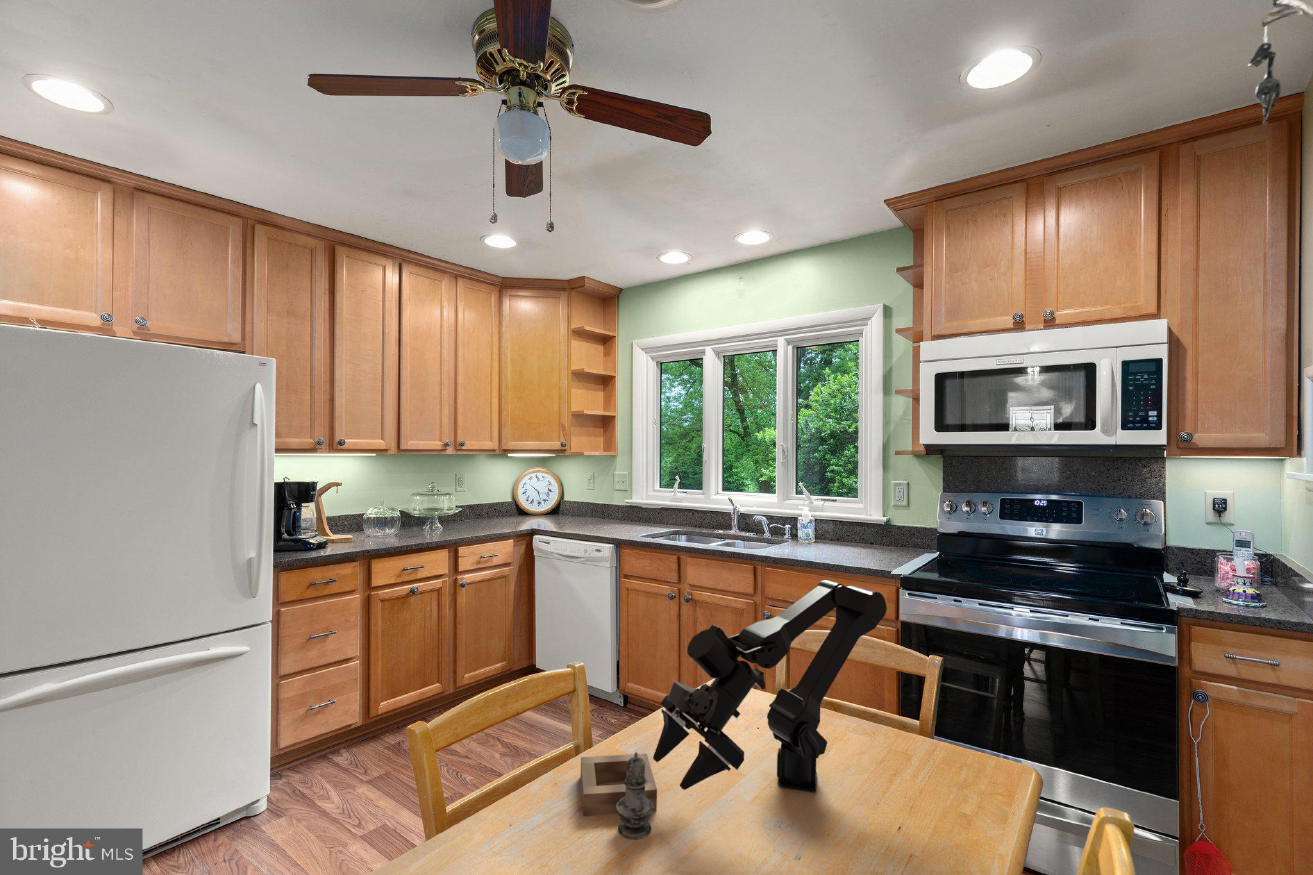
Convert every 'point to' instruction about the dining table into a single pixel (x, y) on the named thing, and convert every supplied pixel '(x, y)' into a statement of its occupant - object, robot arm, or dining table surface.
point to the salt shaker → (635, 802)
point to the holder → (607, 796)
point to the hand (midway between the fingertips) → (667, 773)
